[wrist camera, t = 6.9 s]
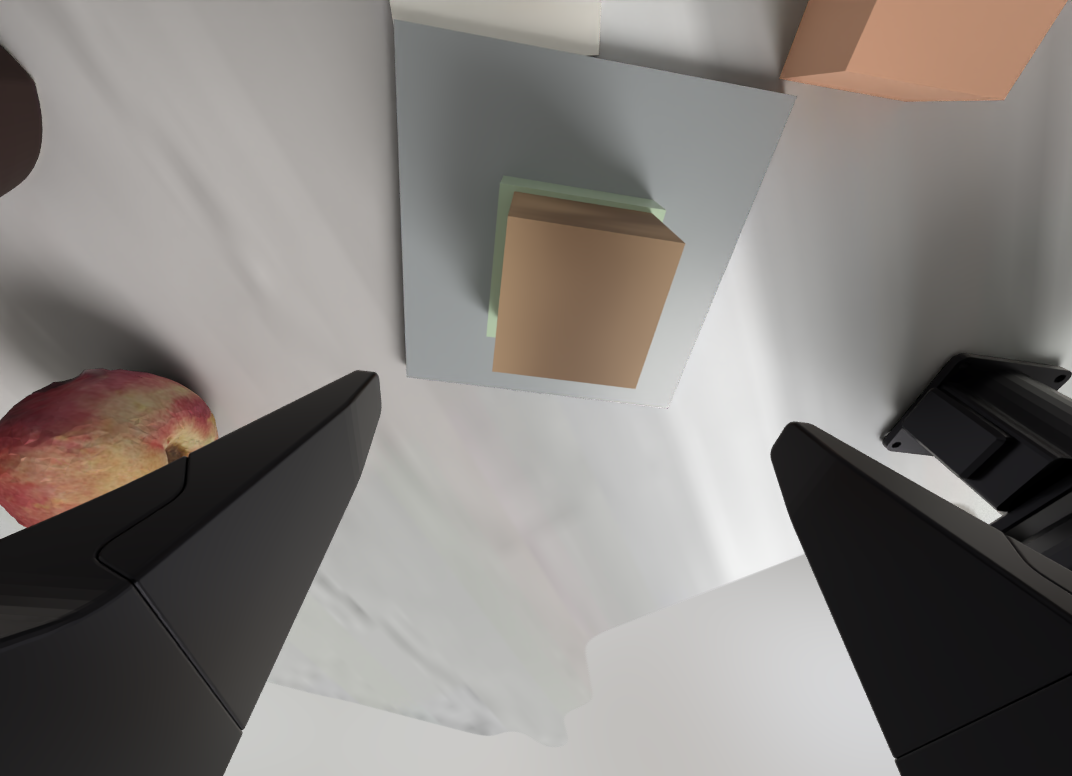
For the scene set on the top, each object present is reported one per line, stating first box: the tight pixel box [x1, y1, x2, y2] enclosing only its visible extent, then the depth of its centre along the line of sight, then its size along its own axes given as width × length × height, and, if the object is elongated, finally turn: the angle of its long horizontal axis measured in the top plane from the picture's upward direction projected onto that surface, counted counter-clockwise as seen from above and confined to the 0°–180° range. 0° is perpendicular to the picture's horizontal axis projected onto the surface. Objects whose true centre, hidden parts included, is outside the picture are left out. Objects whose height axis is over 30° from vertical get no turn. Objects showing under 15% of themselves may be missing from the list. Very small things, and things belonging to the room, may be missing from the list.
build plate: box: [393, 19, 797, 409], centre depth 17 cm, size 14×14×3 cm
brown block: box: [492, 191, 686, 389], centre depth 14 cm, size 5×5×4 cm
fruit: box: [0, 368, 218, 528], centre depth 20 cm, size 8×8×8 cm
